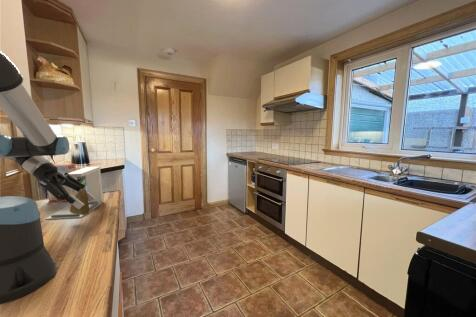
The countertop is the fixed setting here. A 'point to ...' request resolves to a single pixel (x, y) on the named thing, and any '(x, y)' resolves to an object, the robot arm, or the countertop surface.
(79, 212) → the rock
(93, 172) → the shelf unit
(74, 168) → the cracker box
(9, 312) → the countertop surface
